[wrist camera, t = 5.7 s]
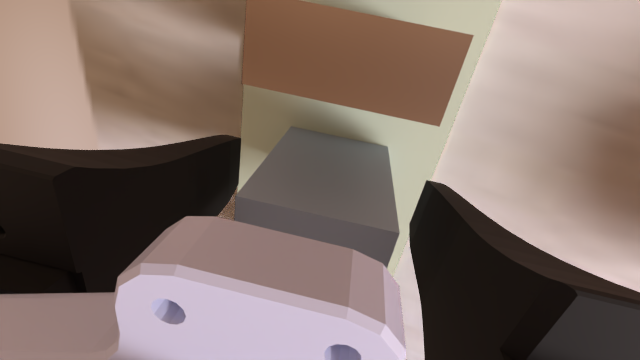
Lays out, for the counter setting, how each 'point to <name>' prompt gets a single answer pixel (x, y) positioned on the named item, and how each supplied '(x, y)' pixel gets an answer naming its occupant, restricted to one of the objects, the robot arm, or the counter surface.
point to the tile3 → (352, 58)
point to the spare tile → (325, 193)
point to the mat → (396, 133)
